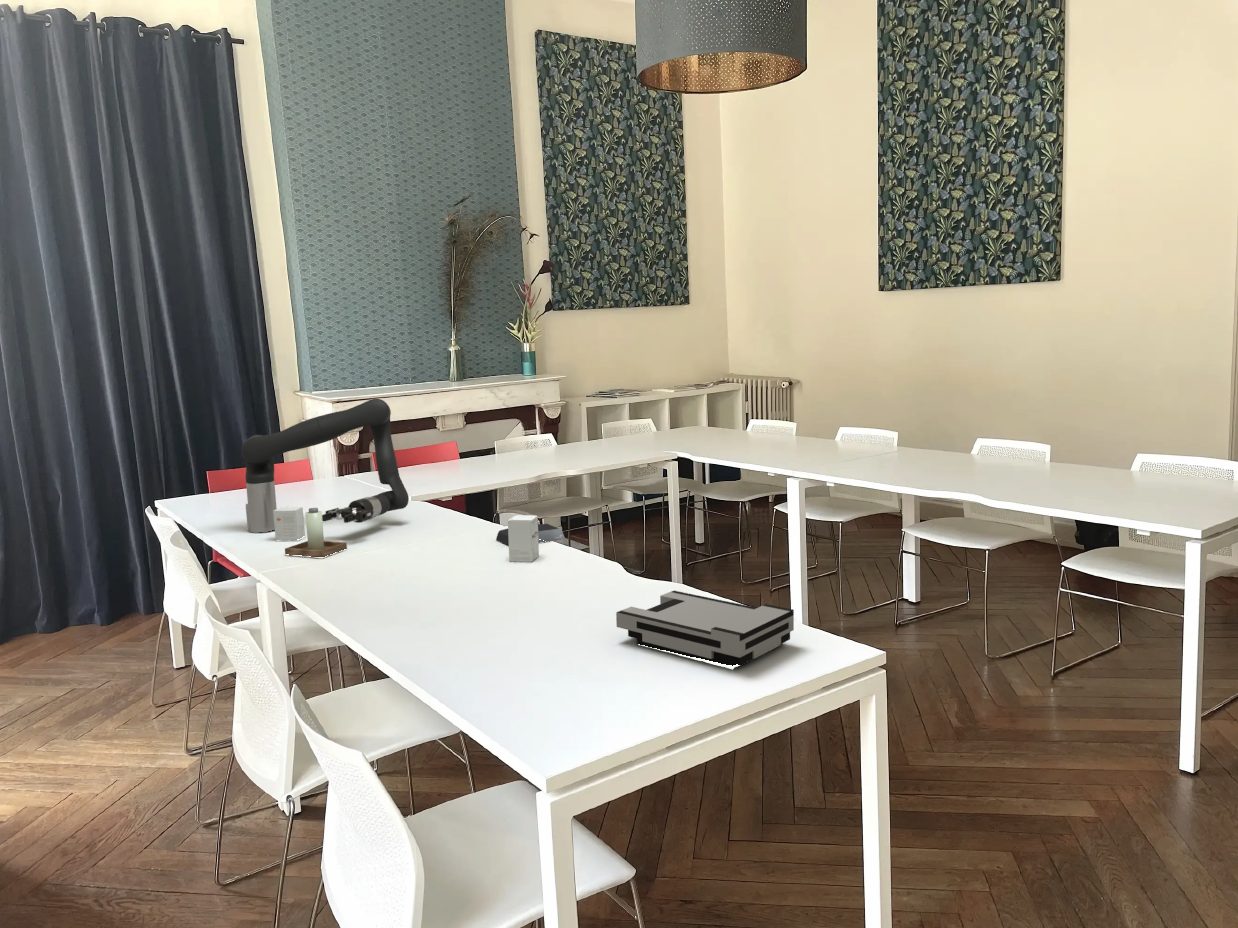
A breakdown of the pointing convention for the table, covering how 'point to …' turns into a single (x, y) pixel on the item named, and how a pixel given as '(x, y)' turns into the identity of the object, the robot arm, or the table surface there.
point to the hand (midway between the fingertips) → (333, 518)
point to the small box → (289, 523)
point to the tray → (328, 549)
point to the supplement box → (523, 538)
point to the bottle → (314, 529)
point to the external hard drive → (544, 533)
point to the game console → (708, 627)
